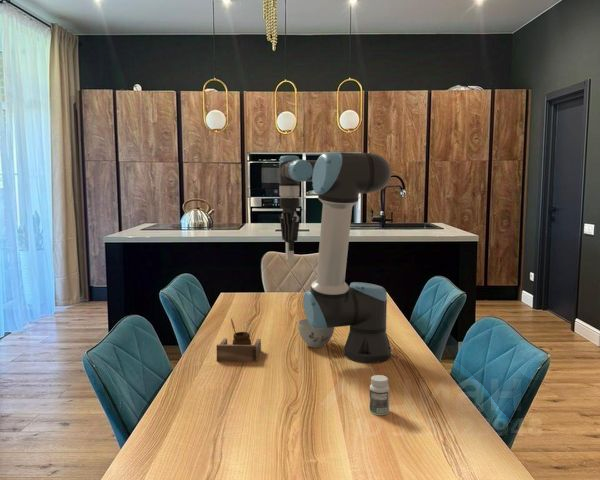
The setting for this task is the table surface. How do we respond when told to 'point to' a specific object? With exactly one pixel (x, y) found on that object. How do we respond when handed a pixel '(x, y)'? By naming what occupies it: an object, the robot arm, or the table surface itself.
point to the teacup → (314, 334)
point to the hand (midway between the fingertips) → (289, 259)
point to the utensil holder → (241, 337)
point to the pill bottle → (379, 395)
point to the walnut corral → (238, 352)
